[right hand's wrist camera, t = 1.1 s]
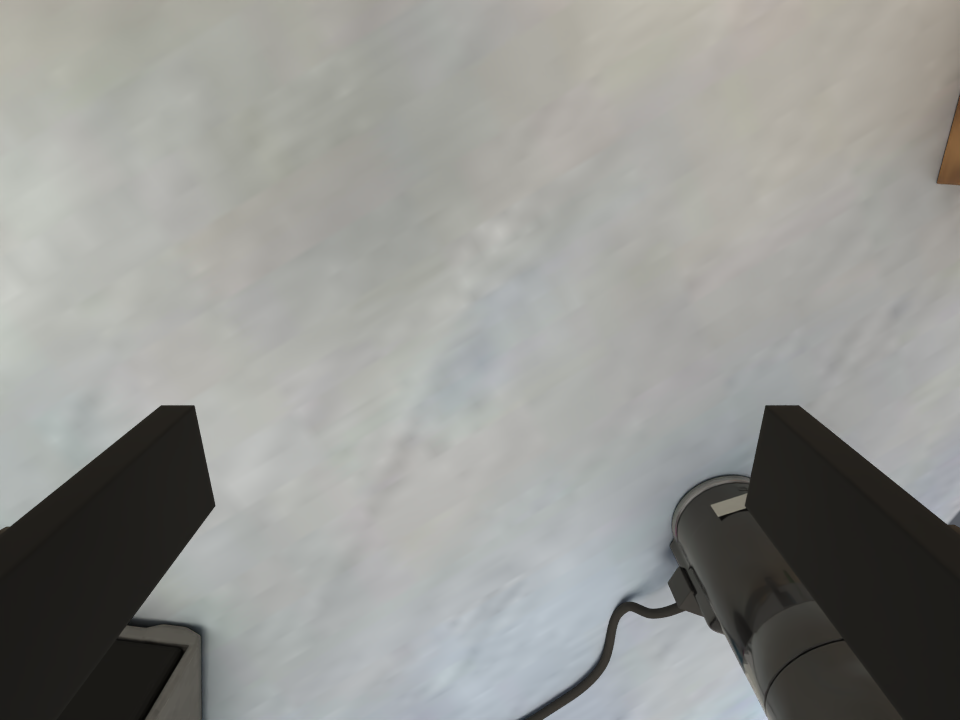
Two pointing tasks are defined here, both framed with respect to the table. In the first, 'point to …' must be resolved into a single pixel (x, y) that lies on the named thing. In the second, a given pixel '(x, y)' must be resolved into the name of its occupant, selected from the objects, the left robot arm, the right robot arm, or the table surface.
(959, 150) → the box
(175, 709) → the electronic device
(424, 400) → the table surface
